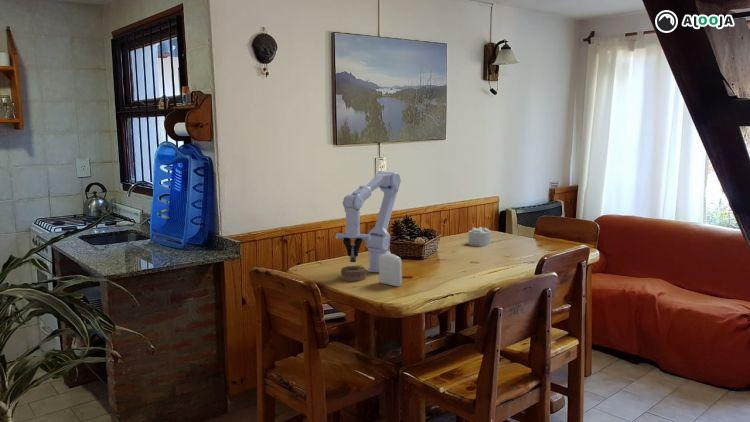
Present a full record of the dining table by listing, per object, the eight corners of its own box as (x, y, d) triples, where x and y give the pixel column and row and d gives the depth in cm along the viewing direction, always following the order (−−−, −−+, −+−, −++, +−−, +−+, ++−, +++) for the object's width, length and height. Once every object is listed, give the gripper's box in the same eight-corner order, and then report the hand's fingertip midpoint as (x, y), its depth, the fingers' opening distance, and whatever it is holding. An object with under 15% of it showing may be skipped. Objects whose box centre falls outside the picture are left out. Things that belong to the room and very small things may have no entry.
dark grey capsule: (356, 261, 244) (356, 244, 243) (355, 262, 242) (355, 245, 241) (350, 260, 244) (350, 244, 243) (349, 262, 242) (349, 245, 241)
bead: (367, 275, 248) (367, 266, 247) (362, 281, 238) (362, 272, 237) (344, 274, 250) (344, 265, 249) (339, 280, 240) (338, 271, 239)
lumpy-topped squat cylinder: (465, 244, 313) (466, 228, 312) (476, 240, 323) (476, 225, 322) (483, 247, 307) (484, 230, 306) (494, 243, 317) (494, 227, 316)
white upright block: (377, 282, 237) (377, 253, 235) (384, 280, 240) (384, 251, 238) (396, 287, 230) (396, 256, 228) (403, 285, 233) (403, 255, 231)
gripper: (333, 224, 238) (333, 257, 240) (368, 226, 236) (368, 258, 237) (337, 222, 245) (337, 253, 247) (371, 223, 242) (371, 255, 244)
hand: (352, 256), depth 243 cm, fingers closed on dark grey capsule, 2 cm apart
